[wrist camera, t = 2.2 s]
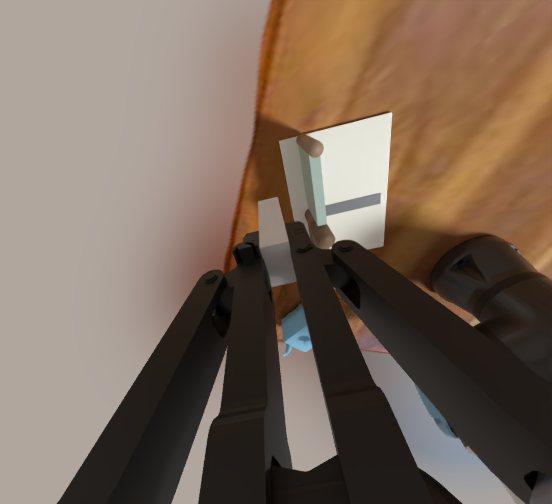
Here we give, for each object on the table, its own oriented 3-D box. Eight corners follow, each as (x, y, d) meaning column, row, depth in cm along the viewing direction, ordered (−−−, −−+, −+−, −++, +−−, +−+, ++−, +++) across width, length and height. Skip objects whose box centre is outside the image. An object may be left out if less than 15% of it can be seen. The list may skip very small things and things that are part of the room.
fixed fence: (324, 258, 40) (339, 291, 33) (311, 261, 40) (323, 294, 33) (318, 205, 34) (334, 230, 27) (303, 209, 35) (315, 235, 27)
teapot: (290, 334, 53) (294, 365, 46) (271, 324, 50) (273, 355, 44) (327, 306, 48) (337, 336, 42) (308, 294, 46) (316, 323, 39)
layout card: (382, 245, 40) (383, 246, 40) (302, 262, 41) (302, 264, 41) (390, 112, 29) (392, 112, 28) (278, 140, 29) (279, 141, 29)
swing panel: (316, 204, 34) (330, 227, 27) (306, 206, 34) (318, 230, 27) (307, 131, 28) (322, 138, 22) (295, 134, 28) (307, 142, 22)
